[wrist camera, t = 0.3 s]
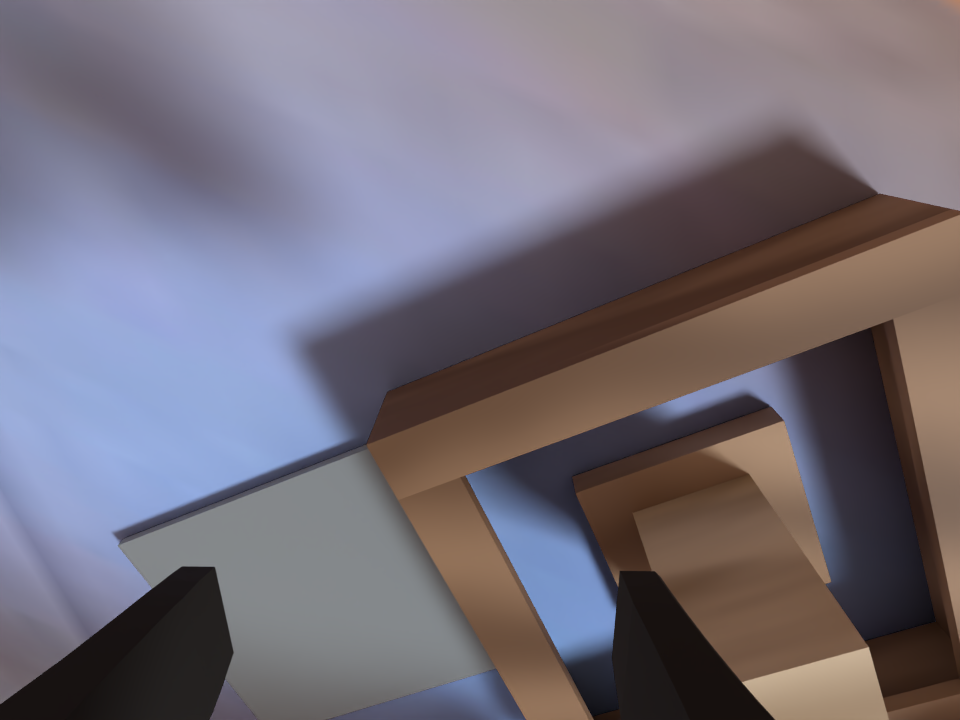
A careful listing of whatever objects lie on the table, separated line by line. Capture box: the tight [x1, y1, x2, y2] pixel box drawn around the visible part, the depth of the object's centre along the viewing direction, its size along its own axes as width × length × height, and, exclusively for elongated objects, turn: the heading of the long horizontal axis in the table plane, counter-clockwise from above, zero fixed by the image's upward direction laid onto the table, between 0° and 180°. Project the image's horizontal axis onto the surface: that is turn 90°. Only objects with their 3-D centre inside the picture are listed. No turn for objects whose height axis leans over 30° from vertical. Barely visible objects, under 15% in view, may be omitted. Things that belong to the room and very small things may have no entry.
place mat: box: [118, 445, 496, 720], centre depth 24 cm, size 11×11×1 cm
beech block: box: [633, 474, 889, 720], centre depth 18 cm, size 4×4×7 cm
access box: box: [366, 194, 960, 720], centre depth 20 cm, size 18×16×4 cm
